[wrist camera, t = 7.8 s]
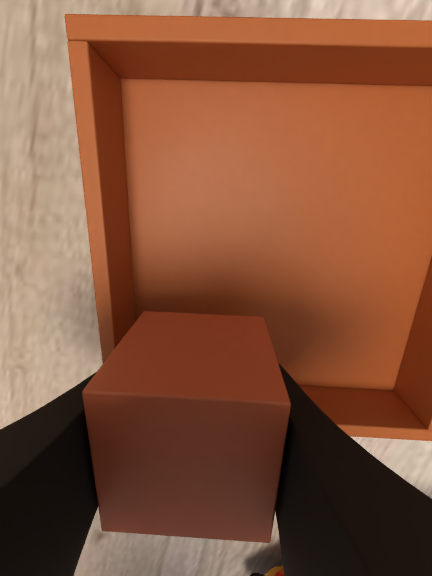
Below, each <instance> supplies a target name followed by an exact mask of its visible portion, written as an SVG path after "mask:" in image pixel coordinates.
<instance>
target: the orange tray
mask: <svg viewBox="0 0 432 576" xmlns="http://www.w3.org/2000/svg"><path fill="white" fill-rule="evenodd" d="M65 23H66V32H67V38H68V40H69V41H68V51H69V60H70V69H71V78H72V87H73V96H74V105H75V115H76V124H77V133H78V142H79V151H80V160H81V169H82V178H83V187H84V196H85V206H86V215H87V224H88V233H89V242H90V251H91V260H92V269H93V278H94V288H95V297H96V306H97V315H98V324H99V333H100V342H101V351H102V360H103V364H104V362H105V361H106V360H107V358H108V357H109V356H110V354H111V353H112V352H113V351H114V349H115V348H116V347H117V345H118V344H119V343H120V341H121V340H122V339H123V338H124V336H125V335H126V334H127V332H128V331H129V330H130V328H131V327H132V326H133V325H134V323H135V322H136V321H137V319H138V318H139V317H140V315H141V314H142V313H143V312H144V311H152V312H173V313H193V314H214V315H234V316H255V317H264V320H265V323H266V326H267V330H268V333H269V336H270V339H271V342H272V345H273V349H274V352H275V355H276V358H277V361H278V364H281V366H282V367H283V368H284V369H285V370H286V371H287V372H288V374H289V375H290V376H291V377H292V378H293V379H294V381H295V382H296V383H297V384H298V385H299V386H300V388H301V389H302V390H303V391H304V392H305V393H306V394H307V395H308V396H309V398H310V399H311V400H312V401H313V402H314V403H315V404H316V405H317V406H318V407H319V408H320V409H321V410H322V411H323V412H324V413H325V414H326V415H327V416H328V417H329V418H330V419H331V420H332V421H333V422H334V423H335V424H336V425H337V426H338V427H340V428H341V429H342V430H343V431H344V432H345V433H346V434H347V435H348V436H357V437H374V438H390V439H407V440H423V441H432V21H418V20H363V19H308V18H253V17H198V16H143V15H88V14H65Z"/></svg>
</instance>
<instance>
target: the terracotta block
mask: <svg viewBox="0 0 432 576" xmlns="http://www.w3.org/2000/svg"><path fill="white" fill-rule="evenodd" d="M82 395H83V402H84V409H85V416H86V423H87V430H88V437H89V444H90V451H91V458H92V465H93V472H94V479H95V486H96V493H97V500H98V507H99V514H100V521H101V528H102V530H103V531H111V532H125V533H139V534H152V535H166V536H180V537H194V538H208V539H221V540H235V541H249V542H263V543H269V542H270V541H271V534H272V528H273V521H274V514H275V508H276V501H277V494H278V487H279V481H280V474H281V467H282V461H283V454H284V447H285V440H286V434H287V427H288V420H289V413H290V407H291V403H290V399H289V396H288V393H287V390H286V387H285V384H284V380H283V377H282V374H281V371H280V368H279V364H278V361H277V358H276V355H275V352H274V349H273V345H272V342H271V339H270V336H269V333H268V330H267V326H266V323H265V320H264V317H255V316H234V315H214V314H193V313H173V312H152V311H144V312H143V313H142V314H141V315H140V317H139V318H138V319H137V321H136V322H135V323H134V325H133V326H132V327H131V328H130V330H129V331H128V332H127V334H126V335H125V336H124V338H123V339H122V340H121V341H120V343H119V344H118V345H117V347H116V348H115V349H114V351H113V352H112V353H111V354H110V356H109V357H108V358H107V360H106V361H105V362H104V364H103V365H102V366H101V367H100V369H99V370H98V371H97V373H96V374H95V375H94V377H93V378H92V379H91V381H90V382H89V383H88V384H87V386H86V387H85V388H84V390H83V392H82Z"/></svg>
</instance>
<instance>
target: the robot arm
mask: <svg viewBox="0 0 432 576" xmlns="http://www.w3.org/2000/svg"><path fill="white" fill-rule="evenodd" d="M279 368H280V371H281V374H282V377H283V380H284V384H285V387H286V390H287V393H288V396H289V399H290V403H291V407H290V413H289V420H288V427H287V434H286V440H285V447H284V454H283V461H282V467H281V474H280V481H279V487H278V494H277V501H276V508H275V512H276V517H277V523H278V530H279V538H280V546H281V554H282V562H283V571H284V576H432V499H431V498H430V497H428V496H427V495H425V494H424V493H422V492H421V491H419V490H418V489H417V488H415V487H414V486H412V485H411V484H410V483H408V482H407V481H405V480H404V479H403V478H401V477H400V476H399V475H397V474H396V473H395V472H393V471H392V470H391V469H389V468H388V467H386V466H385V465H384V464H383V463H381V462H380V461H379V460H377V459H376V458H375V457H374V456H372V455H371V454H370V453H369V452H367V451H366V450H365V449H364V448H363V447H362V446H360V445H359V444H358V443H357V442H356V441H354V440H353V439H352V438H351V437H350V436H348V435H347V434H346V433H345V432H344V431H343V430H342V429H341V428H340V427H338V426H337V425H336V424H335V423H334V422H333V421H332V420H331V419H330V418H329V417H328V416H327V415H326V414H325V413H324V412H323V411H322V410H321V409H320V408H319V407H318V406H317V405H316V404H315V403H314V402H313V401H312V400H311V399H310V398H309V396H308V395H307V394H306V393H305V392H304V391H303V390H302V389H301V388H300V386H299V385H298V384H297V383H296V382H295V381H294V379H293V378H292V377H291V376H290V375H289V374H288V372H287V371H286V370H285V369H284V368H283V367H282V366H281V364H279ZM96 373H97V372H96ZM96 373H94V374H93V375H91V376H90V377H88V378H87V379H85V380H84V381H82V382H81V383H80V384H78V385H77V386H75V387H74V388H72V389H70V390H69V391H67V392H65V393H64V394H62V395H61V396H59V397H57V398H56V399H54V400H53V401H51V402H49V403H48V404H46V405H45V406H43V407H41V408H39V409H38V410H36V411H34V412H32V413H31V414H29V415H27V416H25V417H23V418H22V419H20V420H18V421H16V422H14V423H12V424H10V425H8V426H6V427H4V428H3V429H1V430H0V576H73V575H74V572H75V569H76V566H77V563H78V560H79V558H80V555H81V552H82V549H83V546H84V543H85V541H86V538H87V535H88V532H89V529H90V527H91V524H92V521H93V518H94V516H95V513H96V511H97V508H98V500H97V493H96V486H95V479H94V472H93V465H92V458H91V451H90V444H89V437H88V430H87V423H86V416H85V409H84V402H83V395H82V392H83V390H84V388H85V387H86V386H87V384H88V383H89V382H90V381H91V379H92V378H93V377H94V375H95V374H96Z"/></svg>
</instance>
